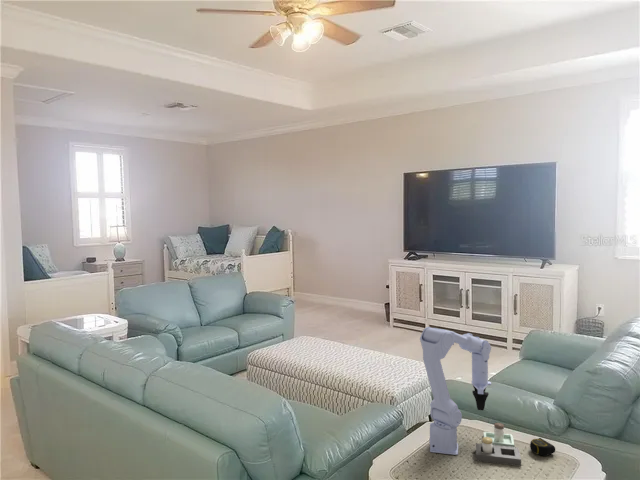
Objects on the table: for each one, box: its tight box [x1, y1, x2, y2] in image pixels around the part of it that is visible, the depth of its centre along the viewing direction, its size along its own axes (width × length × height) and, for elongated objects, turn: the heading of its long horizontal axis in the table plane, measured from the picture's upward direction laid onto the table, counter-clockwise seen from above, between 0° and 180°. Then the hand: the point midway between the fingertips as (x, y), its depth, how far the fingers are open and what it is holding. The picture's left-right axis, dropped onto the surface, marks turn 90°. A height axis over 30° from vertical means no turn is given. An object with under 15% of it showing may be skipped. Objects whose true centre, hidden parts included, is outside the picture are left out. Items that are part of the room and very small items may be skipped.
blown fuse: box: [493, 422, 505, 443], centre depth 174 cm, size 3×3×6 cm
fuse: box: [481, 436, 492, 454], centre depth 165 cm, size 3×3×6 cm
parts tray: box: [483, 431, 515, 447], centre depth 174 cm, size 10×8×2 cm
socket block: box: [475, 443, 522, 467], centre depth 164 cm, size 14×8×2 cm, turn 73°
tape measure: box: [529, 437, 556, 457], centre depth 167 cm, size 7×7×4 cm
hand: (480, 405), depth 182 cm, fingers open, 7 cm apart
